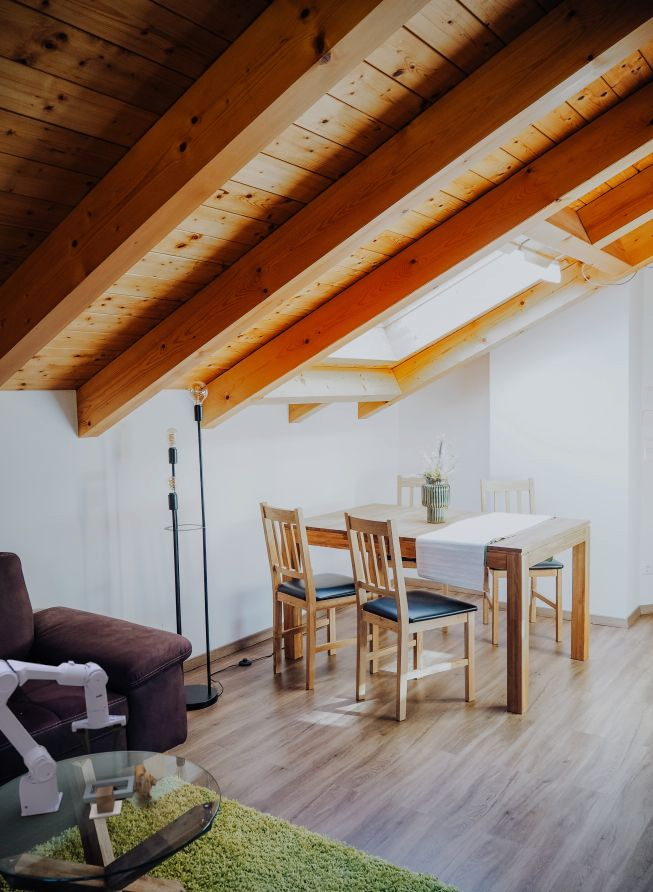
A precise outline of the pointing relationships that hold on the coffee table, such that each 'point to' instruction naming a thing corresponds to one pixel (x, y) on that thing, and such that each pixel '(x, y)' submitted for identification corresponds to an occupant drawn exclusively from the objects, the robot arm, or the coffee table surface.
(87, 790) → the puzzle board
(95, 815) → the rubber mat
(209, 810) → the coffee table surface
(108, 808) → the walnut block
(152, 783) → the lion figurine
